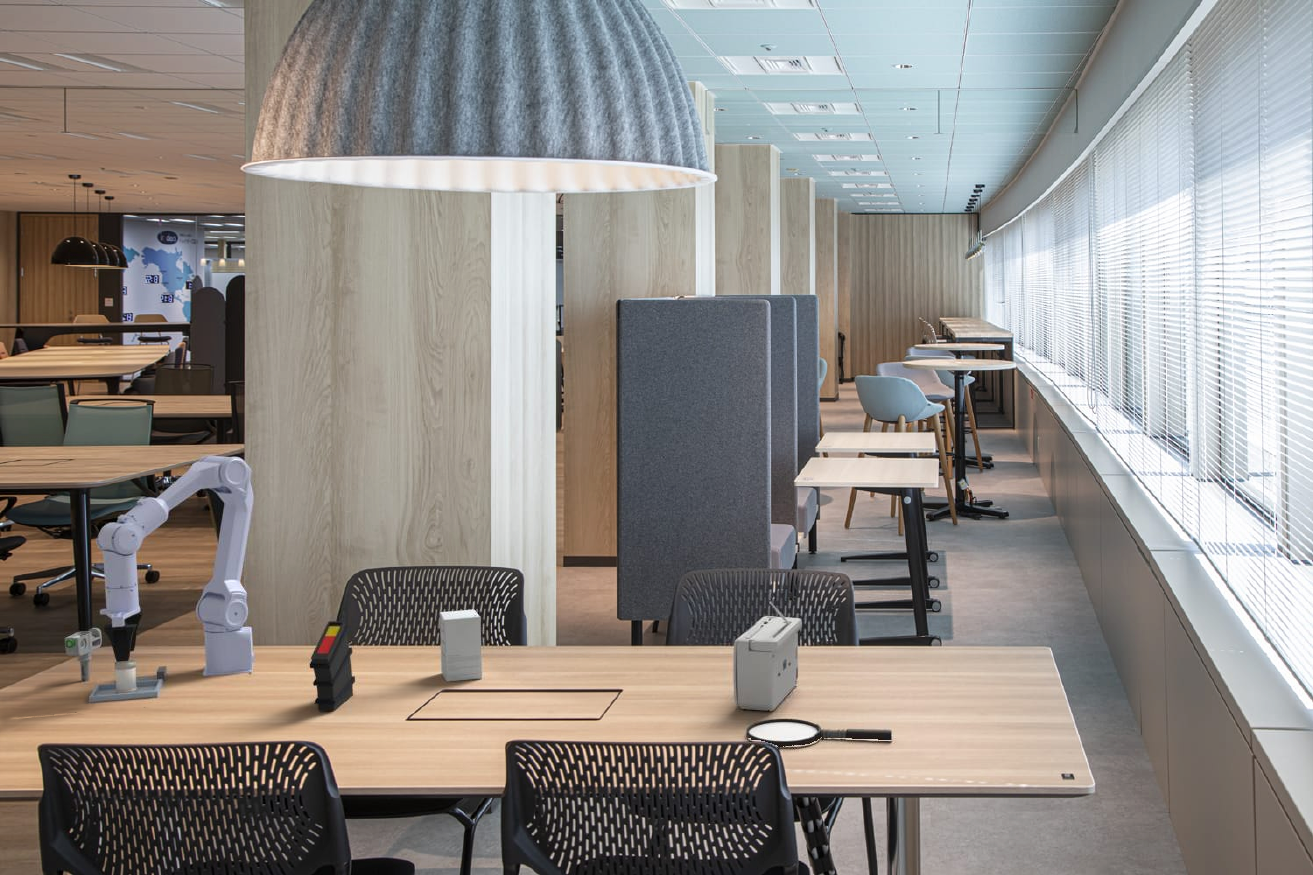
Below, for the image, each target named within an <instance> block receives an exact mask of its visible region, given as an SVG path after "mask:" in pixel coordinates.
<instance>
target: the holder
mask: <svg viewBox="0 0 1313 875" xmlns="http://www.w3.org/2000/svg"><path fill="white" fill-rule="evenodd" d="M167 673H168V671H167V665H162V666H158V668H157V670H156V674H154V675H143V676H142V675H140V676H136V681H146V680H159V679H163V682H166V680H167V678H168V676H169V674H167Z"/></svg>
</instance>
